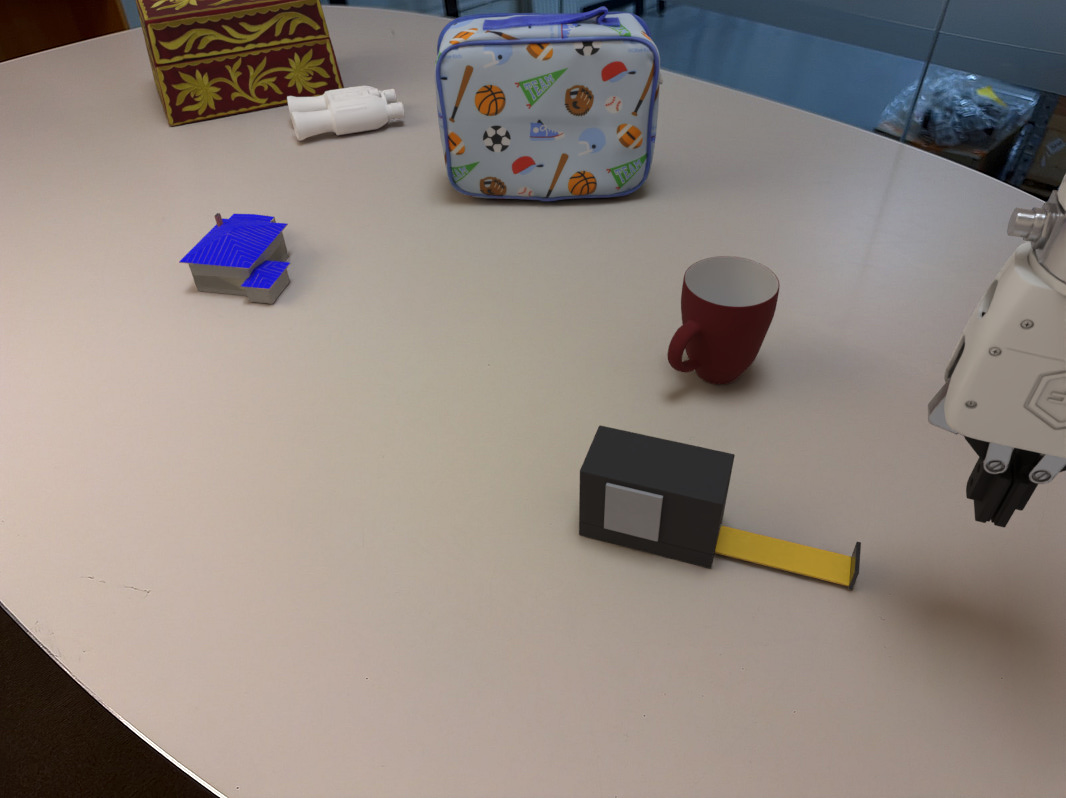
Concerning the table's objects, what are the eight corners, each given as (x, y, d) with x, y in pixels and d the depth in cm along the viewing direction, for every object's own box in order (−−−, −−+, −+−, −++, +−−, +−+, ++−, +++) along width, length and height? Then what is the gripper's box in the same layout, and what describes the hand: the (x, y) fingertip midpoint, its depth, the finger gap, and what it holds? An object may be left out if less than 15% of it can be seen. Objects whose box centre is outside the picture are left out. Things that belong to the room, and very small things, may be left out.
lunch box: (652, 166, 108) (665, -13, 94) (664, 202, 101) (681, 13, 86) (447, 174, 108) (428, -4, 94) (443, 212, 100) (422, 24, 86)
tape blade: (854, 559, 59) (861, 542, 57) (852, 590, 57) (859, 572, 55) (720, 527, 61) (723, 509, 60) (714, 555, 59) (717, 538, 58)
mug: (711, 426, 70) (726, 333, 63) (638, 385, 74) (645, 294, 68) (778, 370, 75) (798, 278, 69) (707, 335, 80) (719, 245, 73)
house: (326, 239, 96) (316, 196, 92) (274, 307, 86) (261, 261, 82) (239, 232, 98) (226, 189, 94) (178, 297, 88) (161, 252, 84)
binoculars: (290, 120, 124) (283, 89, 121) (394, 104, 127) (389, 74, 124) (298, 147, 116) (291, 115, 113) (407, 129, 120) (403, 98, 117)
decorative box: (169, 127, 123) (135, 23, 113) (156, 88, 136) (124, -9, 126) (346, 94, 131) (328, -6, 122) (318, 60, 144) (299, -33, 134)
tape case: (723, 516, 62) (735, 451, 58) (710, 572, 58) (722, 507, 54) (597, 486, 65) (600, 422, 60) (577, 538, 61) (578, 473, 56)
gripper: (959, 262, 37) (857, 521, 49) (1352, 323, 33) (1136, 589, 45) (954, 189, 42) (863, 440, 55) (1292, 235, 39) (1113, 494, 51)
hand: (987, 507), depth 50 cm, fingers closed
